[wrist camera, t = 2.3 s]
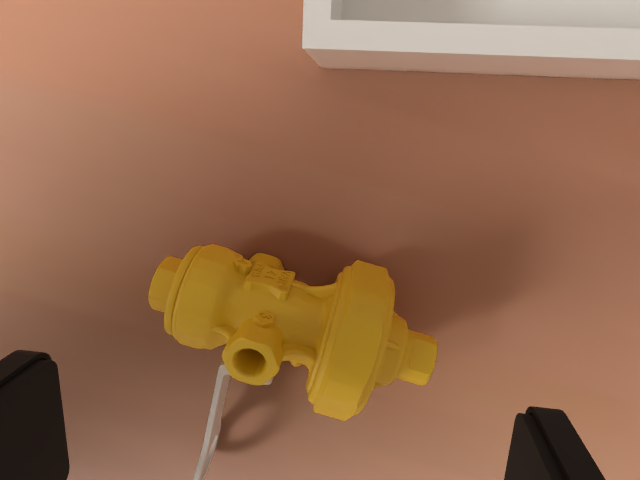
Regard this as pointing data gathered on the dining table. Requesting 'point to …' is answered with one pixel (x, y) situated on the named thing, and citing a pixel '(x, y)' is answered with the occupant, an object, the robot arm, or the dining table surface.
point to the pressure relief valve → (289, 329)
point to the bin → (477, 36)
